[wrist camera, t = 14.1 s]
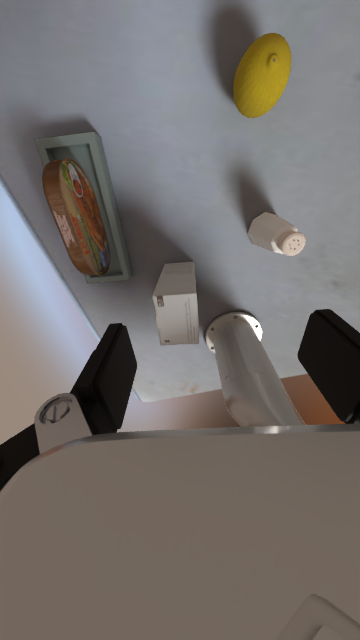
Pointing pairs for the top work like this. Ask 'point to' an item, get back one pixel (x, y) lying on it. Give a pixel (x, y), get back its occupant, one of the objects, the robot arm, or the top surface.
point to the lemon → (262, 75)
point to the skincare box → (177, 304)
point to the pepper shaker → (276, 234)
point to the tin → (77, 215)
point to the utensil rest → (94, 164)
